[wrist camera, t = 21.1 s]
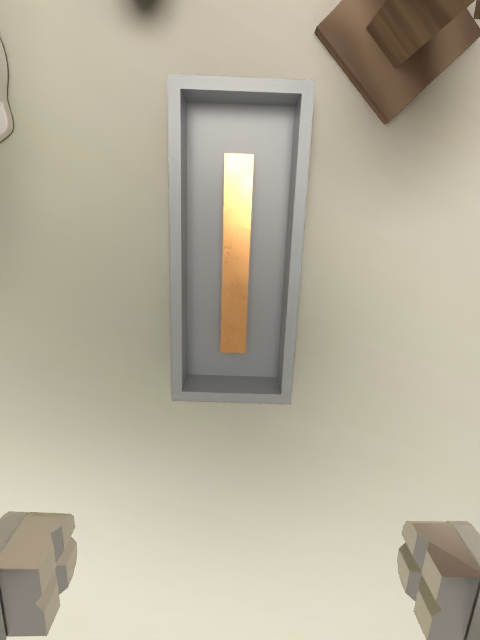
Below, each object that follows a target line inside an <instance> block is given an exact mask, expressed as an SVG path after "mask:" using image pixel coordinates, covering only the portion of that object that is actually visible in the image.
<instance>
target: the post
mask: <svg viewBox="0 0 480 640" xmlns="http://www.w3.org/2000/svg"><path fill="white" fill-rule="evenodd" d="M474 1H475V0H342V1H341V2H340V3H339V4H338V5H337V6H336V8H335V9H334V10H333V11H332V12H331V13H330V14H329V15H328V16H327V17H326V18H325V19H324V20H323V21H322V22H321V23H320V24H319V25H318V26H317V28H316V30H315V34H316V35H317V36H318V38H319V39H320V40H321V42H322V43H323V44H324V46H325V47H326V48H327V50H328V51H329V52H330V54H331V55H332V56H333V57H334V59H335V60H336V61H337V63H338V64H339V65H340V67H341V68H342V69H343V71H344V72H345V73H346V75H347V76H348V77H349V79H350V80H351V81H352V82H353V84H354V85H355V86H356V88H357V89H358V90H359V92H360V93H361V94H362V96H363V97H364V98H365V100H366V101H367V102H368V104H369V105H370V106H371V107H372V109H373V110H374V111H375V113H376V114H377V115H378V117H379V118H380V119H381V121H382V122H383V123H384V124H385V123H387V122H389V121H390V120H391V119H392V118H393V117H394V116H395V115H396V114H397V113H398V112H400V111H401V110H402V109H403V108H404V107H405V106H406V105H407V104H408V103H409V102H410V101H411V100H412V99H413V98H414V97H416V96H417V95H418V94H419V93H420V92H421V91H422V90H423V89H424V88H425V87H426V86H427V85H428V84H429V83H430V82H432V81H433V80H434V79H435V78H436V77H437V76H438V75H439V74H440V73H441V72H442V71H443V70H444V69H445V68H447V67H448V66H449V65H450V64H451V63H452V62H453V61H454V60H455V59H456V58H457V57H458V56H459V55H460V54H461V53H463V52H464V51H465V50H466V49H467V48H468V47H469V46H470V45H471V44H472V43H473V42H474V41H475V40H476V39H478V38H479V37H480V28H479V27H478V25H477V24H476V22H475V21H474V19H480V0H477V1H476V7H475V13H474V19H473V17H472V16H471V14H470V13H469V11H468V10H467V7H468V6H469V5H470V4H471V3H472V2H474Z"/></svg>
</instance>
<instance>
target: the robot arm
mask: <svg viewBox="0 0 480 640" xmlns="http://www.w3.org/2000/svg"><path fill="white" fill-rule="evenodd" d="M7 81H8V70H7V61H6V56H5V52H4V48H3V45H2V42H1V40H0V141H2V140H3V139H4V138H6V137H7V136H8V135H10V134H11V132H12V130H13V120H12V115H11V112H10V108H9V105H8V102H7ZM74 529H75V522H74V516H73V515H71V514H61V513H40V512H30V513H28V512H10V511H9V512H8V513H6V514H4V515H3V516H2V517H1V519H0V640H6V637H7V636H47V635H48V632H49V630H50V628H51V625H52V623H53V621H54V619H55V616H56V614H57V612H58V609H59V607H60V600H59V594H61V593H62V592H63V591H64V590H65V589H67V588H68V586H69V584H70V581H71V579H72V576H73V573H74V569H75V565H76V559H77V542H76V541H75V540H74V539H73V538H72V537H71V535H72V533H73V531H74ZM402 536H403V538H404V540H405V543H404V544H403V545H402V546H401V547H400V548H399V551H398V558H397V563H398V573H399V577H400V580H401V583H402V586H403V588H404V590H405V593H406V594H407V595H409V596H410V597H411V598H412V599H413V600H414V601H415V607H414V613H415V615H416V618H417V620H418V622H419V624H420V626H421V629H422V631H423V633H424V635H425V638H426V640H480V535H479V533H478V532H477V531H476V529H475V528H474V527H473V526H472V524H470V523H469V522H467V521H447V522H437V521H406V522H405V524H404V525H403V530H402Z"/></svg>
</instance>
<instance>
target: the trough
mask: <svg viewBox="0 0 480 640" xmlns="http://www.w3.org/2000/svg"><path fill="white" fill-rule="evenodd" d="M167 77H168V153H169V228H170V304H171V380H172V401H199V402H233V403H267V404H291V394H292V381H293V367H294V354H295V341H296V328H297V315H298V302H299V289H300V276H301V263H302V249H303V236H304V223H305V210H306V197H307V184H308V171H309V158H310V145H311V131H312V118H313V105H314V92H315V80H305V79H280V78H255V77H231V76H206V75H181V74H167ZM225 153H226V154H252V155H254V158H253V182H252V207H251V231H250V256H249V280H248V305H247V329H246V353H220V342H221V297H222V253H223V209H224V165H225Z"/></svg>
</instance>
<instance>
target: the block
mask: <svg viewBox="0 0 480 640" xmlns="http://www.w3.org/2000/svg"><path fill="white" fill-rule="evenodd" d="M253 158H254V155H252V154H226V153H225V165H224V209H223V253H222V297H221V342H220V353H246V329H247V305H248V280H249V256H250V231H251V207H252V182H253Z"/></svg>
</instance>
